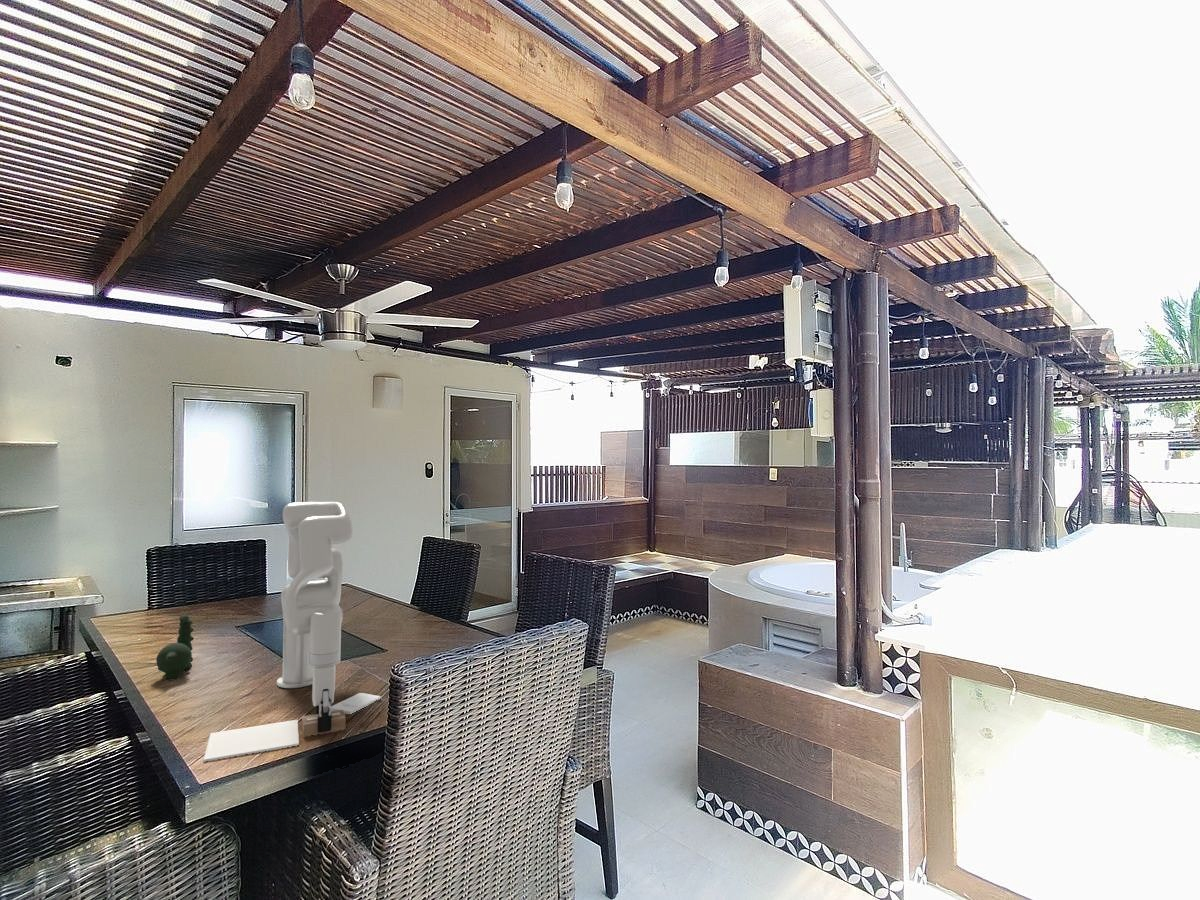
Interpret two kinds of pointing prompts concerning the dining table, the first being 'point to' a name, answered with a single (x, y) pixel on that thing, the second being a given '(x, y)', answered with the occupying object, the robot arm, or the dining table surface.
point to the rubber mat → (252, 740)
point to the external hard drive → (355, 703)
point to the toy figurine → (177, 652)
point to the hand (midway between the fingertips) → (323, 725)
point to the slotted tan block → (312, 723)
